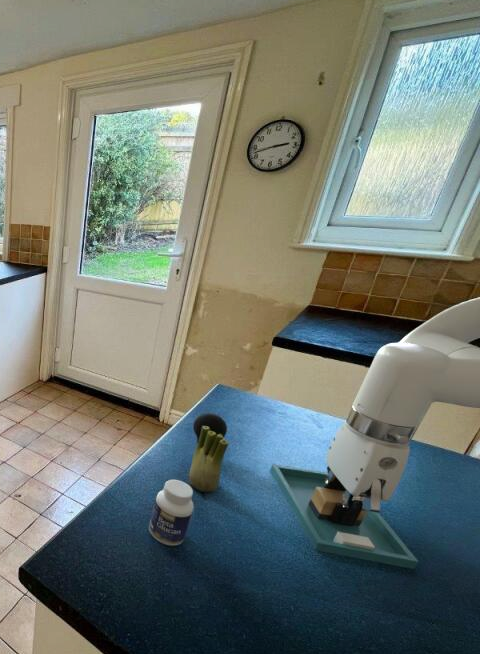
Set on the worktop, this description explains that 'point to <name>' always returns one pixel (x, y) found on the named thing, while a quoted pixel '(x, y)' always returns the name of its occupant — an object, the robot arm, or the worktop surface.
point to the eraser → (329, 503)
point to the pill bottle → (172, 513)
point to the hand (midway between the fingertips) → (334, 512)
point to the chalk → (353, 540)
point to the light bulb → (210, 424)
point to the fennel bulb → (207, 461)
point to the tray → (322, 532)
